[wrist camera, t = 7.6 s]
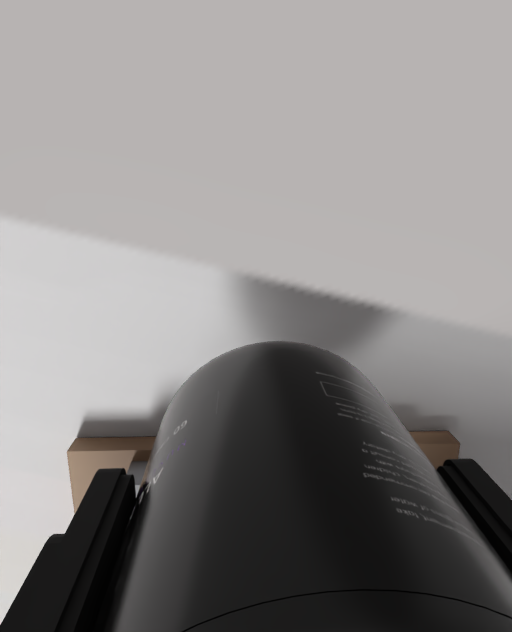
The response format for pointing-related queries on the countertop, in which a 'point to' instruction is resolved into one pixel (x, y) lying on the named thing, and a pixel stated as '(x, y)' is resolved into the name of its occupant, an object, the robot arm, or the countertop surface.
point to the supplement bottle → (297, 513)
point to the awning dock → (137, 450)
